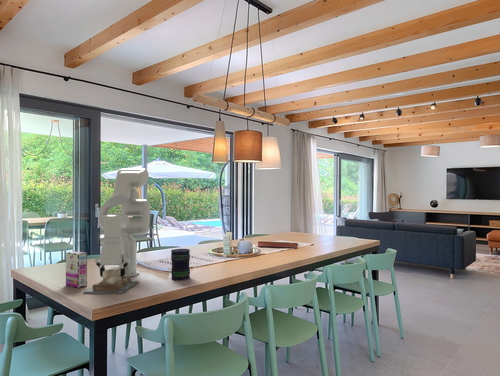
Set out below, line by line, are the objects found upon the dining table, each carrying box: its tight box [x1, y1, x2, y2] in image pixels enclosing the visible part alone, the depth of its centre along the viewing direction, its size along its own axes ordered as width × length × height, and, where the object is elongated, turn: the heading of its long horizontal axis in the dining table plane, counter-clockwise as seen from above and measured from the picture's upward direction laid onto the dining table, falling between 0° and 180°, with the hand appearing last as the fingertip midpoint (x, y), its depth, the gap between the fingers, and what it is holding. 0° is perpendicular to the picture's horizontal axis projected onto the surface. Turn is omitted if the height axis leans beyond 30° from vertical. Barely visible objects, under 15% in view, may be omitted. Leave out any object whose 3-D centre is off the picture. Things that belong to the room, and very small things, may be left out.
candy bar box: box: [65, 250, 88, 289], centre depth 177 cm, size 11×5×16 cm, turn 56°
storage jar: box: [170, 248, 191, 282], centre depth 190 cm, size 10×10×15 cm
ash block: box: [102, 266, 122, 284], centre depth 172 cm, size 4×11×8 cm, turn 177°
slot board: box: [83, 276, 140, 295], centre depth 172 cm, size 20×18×4 cm
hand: (112, 276), depth 172 cm, fingers open, 9 cm apart
